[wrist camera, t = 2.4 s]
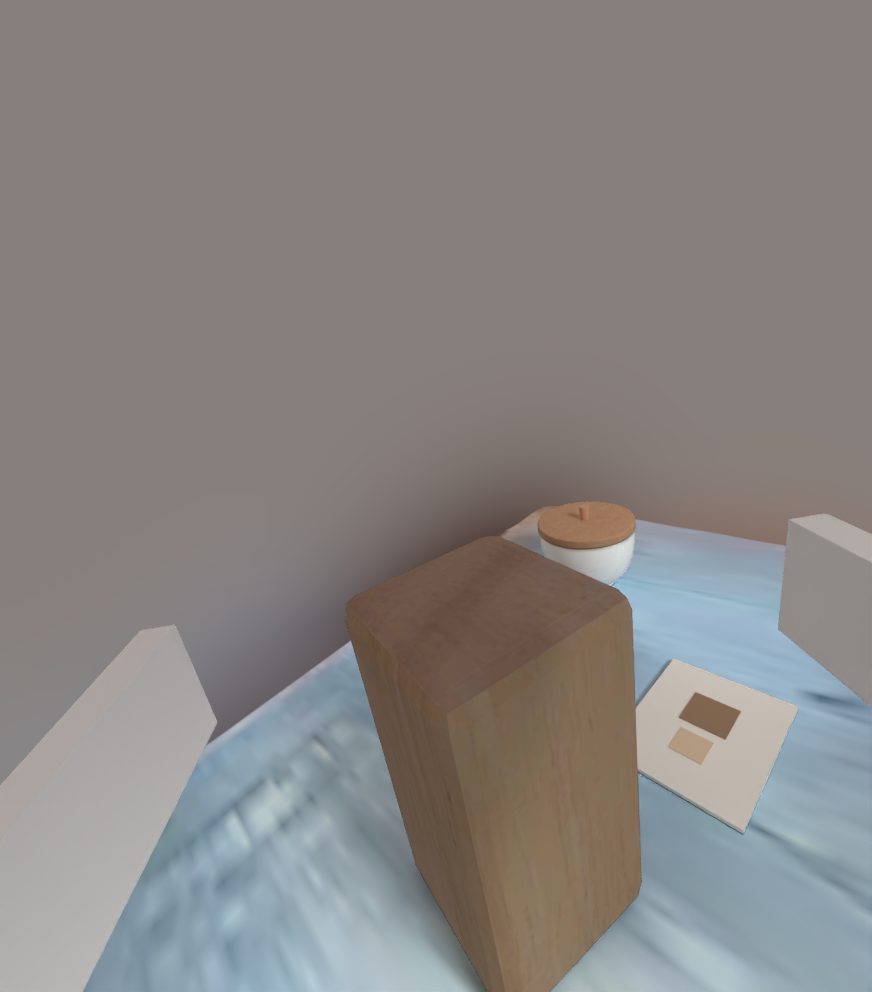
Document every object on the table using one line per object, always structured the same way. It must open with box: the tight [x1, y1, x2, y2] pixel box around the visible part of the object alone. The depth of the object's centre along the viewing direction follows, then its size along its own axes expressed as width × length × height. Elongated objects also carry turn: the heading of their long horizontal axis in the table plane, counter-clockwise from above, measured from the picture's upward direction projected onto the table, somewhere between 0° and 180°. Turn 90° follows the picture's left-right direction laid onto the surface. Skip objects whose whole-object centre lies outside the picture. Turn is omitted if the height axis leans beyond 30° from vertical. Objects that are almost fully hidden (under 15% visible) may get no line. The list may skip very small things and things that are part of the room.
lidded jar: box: [538, 502, 636, 586], centre depth 55 cm, size 11×11×9 cm
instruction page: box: [636, 658, 798, 834], centre depth 35 cm, size 12×9×1 cm
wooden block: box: [346, 536, 642, 992], centre depth 25 cm, size 10×10×20 cm
